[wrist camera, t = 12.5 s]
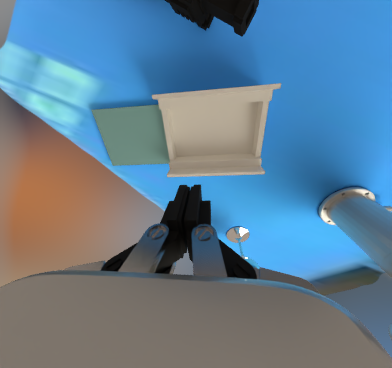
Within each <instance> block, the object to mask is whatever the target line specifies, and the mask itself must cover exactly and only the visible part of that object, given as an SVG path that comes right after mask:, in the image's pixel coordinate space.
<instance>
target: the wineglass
mask: <svg viewBox="0 0 392 368" xmlns="http://www.w3.org/2000/svg"><path fill="white" fill-rule="evenodd" d="M227 238H228V239H229V240H230V241H232V242H235V243H239V248H240V253H241V257H242V258H243V259H245V260H246V261H247V262H248V263H250V264H251V265H252V266H253V268H257V269H259V268H260V266H259V265H258V263H256V262H255V261H254V260H253V259H251V258H249V257H245V256H244V254H243V250H242V246H241V242H243V241H245V240H247V239H248V238H249V231H248V230H247V229H245V228H243V227H234V228H232V229H230V230H229V231H228V232H227Z"/></svg>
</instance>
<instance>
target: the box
mask: <svg viewBox="0 0 392 368" xmlns="http://www.w3.org/2000/svg"><path fill="white" fill-rule="evenodd" d="M280 87H281V83H280V84H269V85H258V86H247V87H235V88H224V89H213V90H202V91H191V92H179V93H168V94H157V95H152V98H153V99H158V103H159V109H161V111H162V117H163V123H164V129H165V135H166V141H167V147H168V153H169V159H170V162H169V166H170V170H169V172H168V174H167V177H187V176H219V175H252V174H265V171H264V169H263V168H262V167H261V160H262V159H261V158H260V156H261V149H262V143H263V137H264V130H265V124H266V117H267V111H268V105H269V101H271V99H272V93H273V90H274V89H279V88H280Z"/></svg>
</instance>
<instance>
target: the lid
mask: <svg viewBox="0 0 392 368" xmlns="http://www.w3.org/2000/svg"><path fill="white" fill-rule="evenodd" d="M92 112H93V115H94V118H95V120H96V123H97V126H98V128H99V131H100V133H101V136H102V139H103V141H104V144H105V147H106V149H107V152H108V154H109V157H110V160H111V162H112V165H113V166H116V165H142V164H169V162H170V159H169V153H168V147H167V141H166V135H165V129H164V123H163V117H162V111H161V109H159V105H147V106H135V107H122V108H110V109H97V110H92Z"/></svg>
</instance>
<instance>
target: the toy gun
mask: <svg viewBox="0 0 392 368" xmlns="http://www.w3.org/2000/svg"><path fill="white" fill-rule="evenodd" d="M165 1H167V2H168V3H170V5H171V6H172V8H173V10H174V11H175V13H177V14H179V15H180V14H181V15H182V17H186V19H188V20H189V19H190V20H191V22H193V23H194V22H196V23H197V25H198V26H199V27H201V28H203V29H204V30H206V29H207V28H209V27H210V25H211V22H212V20H213V17H214V16H215V17H216V18H218V19H220V20H222V21H223V22H225V23H227V24H229V25H231V26H232V27H234V32H235V33H236V34H238V35H240V36H243V34H245V32H246V30H247V28H248V26H249V24H250V22H251V21H252V19H253V17H254V15H255V13H256V9H257V7H258V5H259V0H165Z"/></svg>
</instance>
